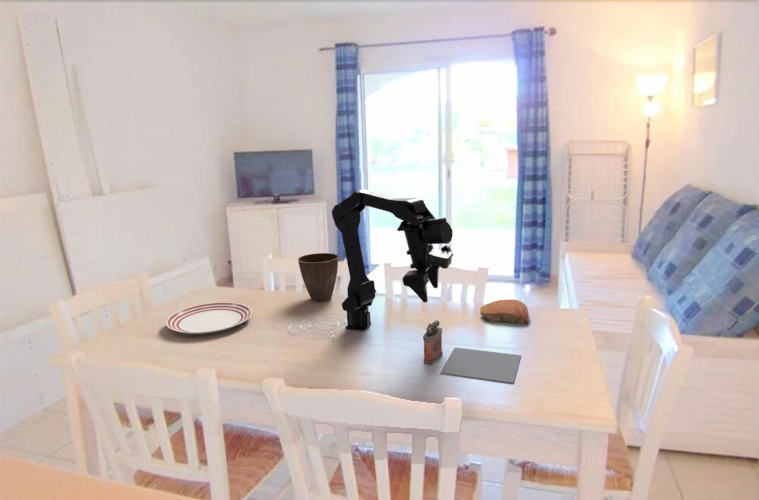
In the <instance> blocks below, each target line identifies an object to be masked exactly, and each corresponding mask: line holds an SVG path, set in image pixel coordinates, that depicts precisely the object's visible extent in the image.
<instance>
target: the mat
mask: <svg viewBox="0 0 759 500" xmlns="http://www.w3.org/2000/svg"><path fill="white" fill-rule="evenodd" d="M521 358H522V355H521V354H514V353H505V352H496V351H490V350H489V351H487V350H481V349H480V350H479V349H471V348H470V349H469V348H463V347H454V348H453V350H452V352H451V353H450V355H449V357H448V358H447V359H446V361H445V364H444V365H443V366H442V369H441V370H440V372H439V374H440V375H446V376H447V375H449V376H454V377H463V378H470V379H476V380H484V381H491V382H498V383H505V384H513V385H514V383H515V378H516V376H517V372H518V367H519V364H520V361H521Z"/></svg>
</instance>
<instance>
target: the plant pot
mask: <svg viewBox="0 0 759 500" xmlns="http://www.w3.org/2000/svg"><path fill="white" fill-rule="evenodd" d="M339 258H340V257H339V254H336V253H332V252H331V253H329V252H317V253H310V254H309V253H308V254H305V255H302V256H300V257H298V258H297V262H298V266H299V270H300V275H301V277H302V280H303V283H304V286H305V289H306V291H307V293H308V295H309V297H310V299H311V301H312V302H315V303H316V302H317V303H321V302H328V301H329V300H331V299H332V297H333V293H334V290H335V286H336V283H337V277H338V276H337V275H338V270H339V269H338V268H339Z"/></svg>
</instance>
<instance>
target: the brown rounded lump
mask: <svg viewBox="0 0 759 500" xmlns="http://www.w3.org/2000/svg"><path fill="white" fill-rule="evenodd" d="M479 311H480V313H479V314H480V315H481V317H483V318H484V320H487V321H490V322H491V323H497V322H499V323H500V322H508V323H514V324H515V323H516V324H523V325H528V323H529V313H528V312H529V311H528V307H527V305H526V303H524V302H522V301H521V300H518V299H512V298H511V299H498V300H496V301H491V302H489V303H486V304H484V305H483V306H481V307H480V309H479Z"/></svg>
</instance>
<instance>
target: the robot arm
mask: <svg viewBox="0 0 759 500" xmlns="http://www.w3.org/2000/svg"><path fill="white" fill-rule="evenodd" d="M366 207H370V208H373V209H377V210H381V211H385V212H388V213H391V214H392V215H393V216H394V217H395V218H397V219H398V220H400V221H401V222H400V224H399V226H398V227H397V230H396V231H397V232H404V235H405V240H406V243H407V248H408V249H407V250H406V255H407V256H409V255H410V258H411V259H410V260H411V264H410V269H414V270H408V271H407V272H406V273H405V274H404V276H403V277H402V278H401V279H402V283H403V286H404V287H407V288H408V287H409V288H410V289H411V290H412V291H413V292H414V293H415V294H416V296H418V297H419V298H420V300H421V301H422V302H423V303H428V291H427V284H428V282H430V284H431V286H432V287H433V289H438V287H439V270H440V268H441V269H448V268H449V267H450V265H452V258H453V256H454V253H453V251H452V249H451V247H450V245H449V243H451V241H452V239H453V228H452V227H451V225H450V223H449V222H447V217H441V218H436V217H435V216H434V214H433V213H432V212H431V211H430V210H429V208H428V207H427V206H426V203H425V201H424V199H422V198H419V197H418V198H416V197H405V198H404V197H402V198H400V197H394V196H391V195H387V194H384V193H378V192H375V191H370V190H369V189H359V190H356V191H354V192H353V193H352V194H350V195H349V196H348V197H347V198H345V199H344V200H342V201H341V202H339V203H337V204H335V205H334V206H333V208H332V209H331V216H332V220H333V221H334V225H335V227H336V228H337V229H338V231H339V232H340V233H341V236H342V242H343V247H344V253H345V258H346V259H345V260H346V263H347V267H348V274H349V282H348V284H347V287H346V288H347V297H346V298H345V299H344V301H342V303H341V307H342V310H343V311H346V321H347V325H346V326H345V329H347V330H353V331H365V330H366V329H368V327H369V326H370V325H371V324H372V320H371V312H370V311H369V307H370V306H372V305H373V302H374V299H375V298H376V293H377V290H376V287H375V280H373V279H369V277H368V276H367V274H366V269H365V264H364V258H363V254H362V248H361V247H362V246H361V242H360V237H359V231H358V229H359V227H360V224H361V213H362V212H363V211H365V208H366ZM433 245H443V246H442V247H441V248H439V247H438V248H434V246H433Z"/></svg>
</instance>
